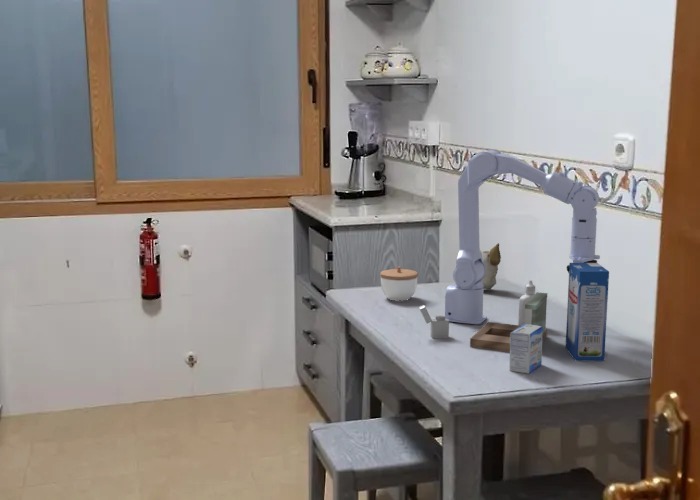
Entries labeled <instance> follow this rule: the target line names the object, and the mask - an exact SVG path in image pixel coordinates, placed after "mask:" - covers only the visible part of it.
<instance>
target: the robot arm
mask: <svg viewBox="0 0 700 500" xmlns="http://www.w3.org/2000/svg"><path fill="white" fill-rule="evenodd" d="M505 174H506V175H507V174H513V175H515V176H517V177H520V178H522V179H525V180H526V181H529V182H531V183H533V184H536V185H538V186H540V187H542V190H543V193H544V194H545V195H547V196H549V197H551V198H554V199H556V200H558V201H560V202H562V203H564V204H567V205H571V207H572V209H573V210H572V217H571V232H570V233H571V235H570V253H569V259H571V261H572V263H598V260H599V259H601V255H599V254H596V241H597V223H598V219H597V215H598V212H597V205H598V204H599V200H600V196H599V192H598V191H597V190H596V189H595V188H594V187H593V186H592V185H584V182H583V181H576V180H574V179H571V178H569V177H566V173H565V172H563V171H560V172H557V171H554V172H550V173H546V172H544V171H542V170H541V169H539V168H536V167H534V166H532V165H531V164H529V163H527V162H525V161H523V160H521V159H519V158H517V157H515V156H513V155H510V154H508V153H505V152H500V151H499V150H497V149H487V150H486V151H479V152H477V153H476V154H475V155H473V156H472V157H470V159H468V161H467V165H466V166H465V168H464V170H463V171H462V173H461V174H460V176H459V179H458V182H457V193H458V194H457V196H458V202H457V203H458V240H459V241H458V242H459V244H458V245H459V248H458V249H459V251H458V254H457V256H456V265H455V268H454V270H453V272H452V278H453V280H454V283H455V284H450V285H448V286H447V287H446V290H445V296H444V298H445V299H444V300H445V301H444V316H445V319H448V320H449V323H450V322H451V323H453V322H454V323H461V324H469V325H470V324H471V325H481V324H482V323H483V322H484V321H485V320H486V319H487V318H488V316H487V315H484V311H483V310H484V289H483V286H484V285H483V283H482V279H483V278H484V276H485V274H486V267H485V265H484V263H483V260H482V253H481V252H482V250H481V248H480V206H479V205H480V201H479V200H480V199H479V194H480V193H479V190H480V187H481V186H482V185H483V184H484V183H485V182H487V180H488V179H490V178H491V177H494V176H495V175H505ZM566 271H567V273H568V274H569V264H568V265H567V266H566Z"/></svg>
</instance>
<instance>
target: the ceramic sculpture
mask: <svg viewBox="0 0 700 500" xmlns="http://www.w3.org/2000/svg"><path fill="white" fill-rule="evenodd" d="M481 253H482V260H483V263H484V265H485V267H486V274H485V276H484V278H483V279H482V283H483V285H484V286H483V290H491V289H492V288H493V287H494V286H495V285H497V279H496V277H497V274H498V270H499V267H498V266H499V265H500V263H501V259H502V257H501V251H500V243H497V244H496V245H495V246H493V247H492V248H490V251H488V250H485V251H481Z"/></svg>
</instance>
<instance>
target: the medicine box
mask: <svg viewBox="0 0 700 500" xmlns="http://www.w3.org/2000/svg"><path fill="white" fill-rule="evenodd" d="M542 330H543V327H542V326H537V325H529V324H524V325H522V326H521V327H519V328H517V329H516V330H514V331H513V332H511V333H510V352H509V372H516V373H520V374H527V375H528V374H531V373H532V372H533V371H534V370H536V369H537V368H538V367H540V366H541V365H542V362H543V361H542V355H543V353H542V352H543V342H542Z"/></svg>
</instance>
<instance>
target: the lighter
mask: <svg viewBox="0 0 700 500" xmlns="http://www.w3.org/2000/svg"><path fill="white" fill-rule="evenodd" d="M418 308H419V309H418V310H419V311H420V313H421V315H422V317H423V318H424V322H425V323H426V324H430V338H432V339H444V338H445V339H446V338H447V339H448V338H450V337H449V335H450V321H449V320H448V319H445V315H435V319H433V318H432V317H431V315H430V313H429V311H428V309H427V307H426V305H424V304H422V305H420V306H418Z"/></svg>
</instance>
